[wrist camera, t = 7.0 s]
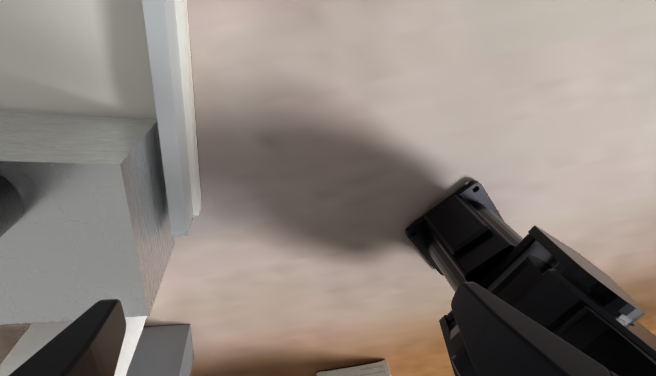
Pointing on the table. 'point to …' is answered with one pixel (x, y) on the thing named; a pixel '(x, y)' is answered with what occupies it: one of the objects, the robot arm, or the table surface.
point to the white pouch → (47, 331)
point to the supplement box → (360, 370)
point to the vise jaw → (80, 215)
